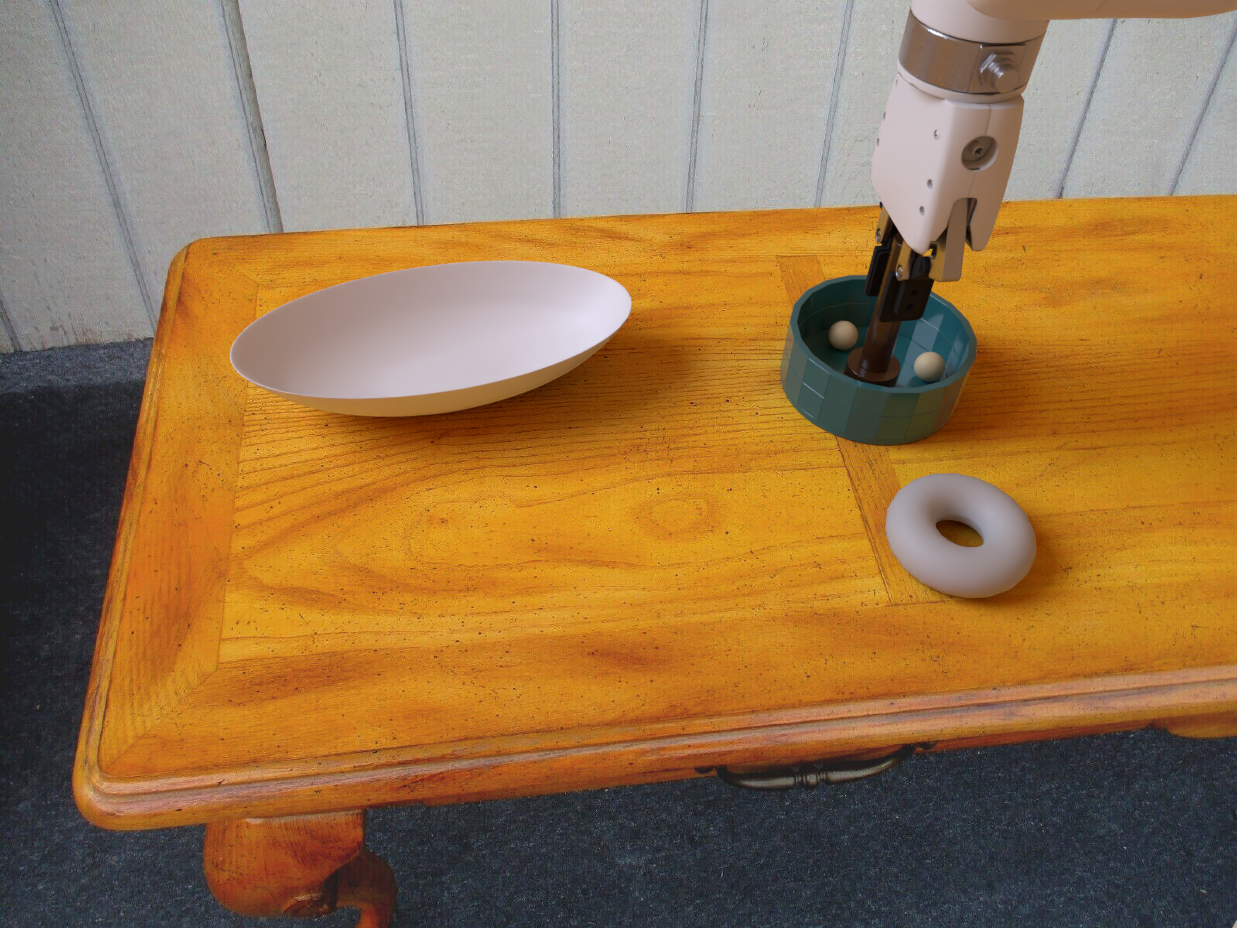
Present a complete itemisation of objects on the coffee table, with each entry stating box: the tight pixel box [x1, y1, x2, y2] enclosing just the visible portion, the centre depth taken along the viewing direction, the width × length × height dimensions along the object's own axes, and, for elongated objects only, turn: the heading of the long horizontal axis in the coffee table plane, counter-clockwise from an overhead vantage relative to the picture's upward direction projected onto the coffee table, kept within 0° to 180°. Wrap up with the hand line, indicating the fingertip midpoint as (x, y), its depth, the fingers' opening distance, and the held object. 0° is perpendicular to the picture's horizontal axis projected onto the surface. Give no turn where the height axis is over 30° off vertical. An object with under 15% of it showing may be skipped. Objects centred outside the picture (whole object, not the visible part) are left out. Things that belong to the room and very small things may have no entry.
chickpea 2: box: [914, 352, 945, 382], centre depth 76 cm, size 2×2×2 cm
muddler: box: [843, 232, 924, 388], centre depth 69 cm, size 4×4×14 cm
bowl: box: [229, 260, 633, 418], centre depth 74 cm, size 30×15×6 cm, turn 106°
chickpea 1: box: [828, 321, 858, 350], centre depth 79 cm, size 2×2×2 cm
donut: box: [884, 472, 1037, 599], centre depth 65 cm, size 10×4×10 cm
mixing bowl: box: [779, 274, 978, 446], centre depth 76 cm, size 14×14×6 cm
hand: (892, 304), depth 68 cm, fingers closed on muddler, 2 cm apart
